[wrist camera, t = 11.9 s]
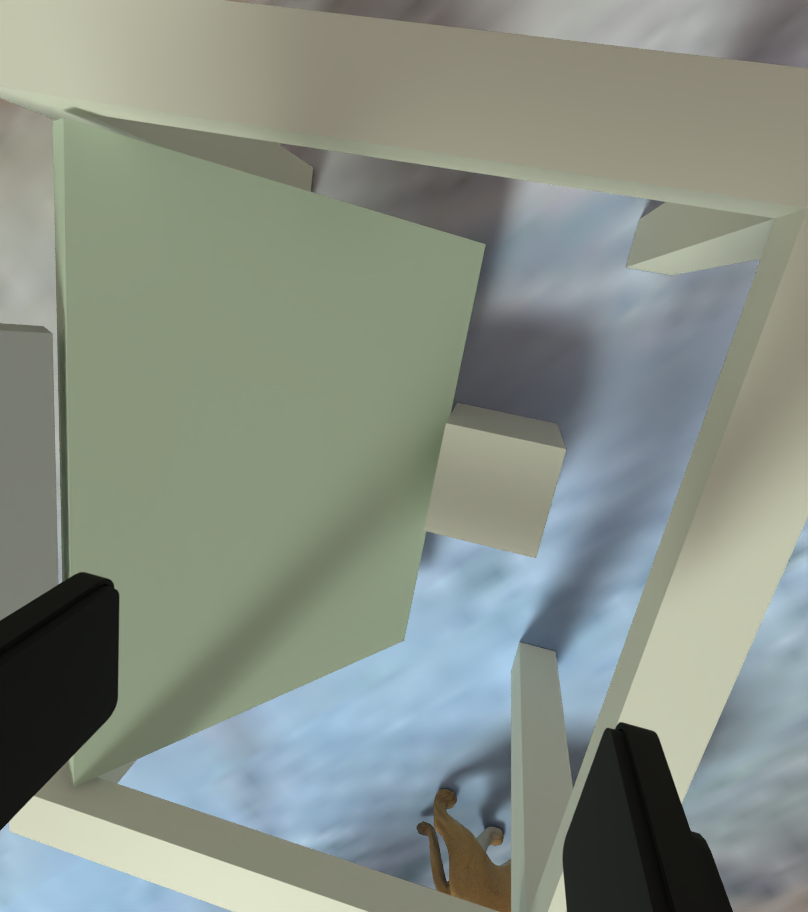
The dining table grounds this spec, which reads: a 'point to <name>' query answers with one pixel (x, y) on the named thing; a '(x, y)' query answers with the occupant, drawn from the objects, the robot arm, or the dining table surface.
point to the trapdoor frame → (654, 249)
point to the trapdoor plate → (226, 427)
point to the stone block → (495, 479)
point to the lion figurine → (467, 859)
